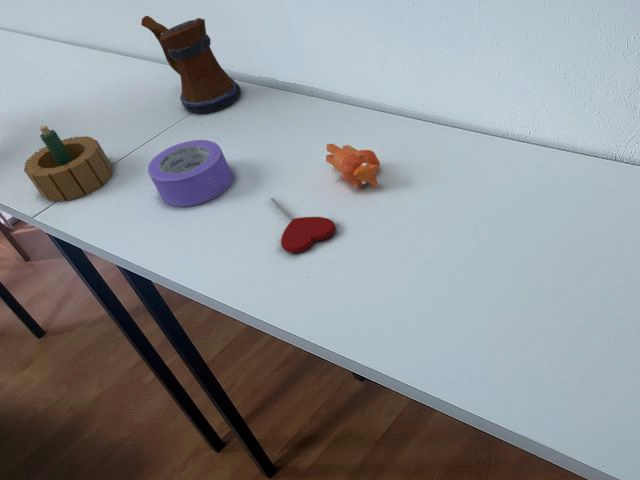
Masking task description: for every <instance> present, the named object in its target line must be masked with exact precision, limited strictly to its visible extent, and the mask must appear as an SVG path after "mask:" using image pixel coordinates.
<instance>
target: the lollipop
mask: <svg viewBox="0 0 640 480" xmlns="http://www.w3.org/2000/svg"><path fill="white" fill-rule="evenodd" d="M270 200H271V202H273V204H275V205H276V207H278V208H279V209H280V210H281V211H282V212H283V213H284V214H285V215H286V216H287V217H288V218H289V219H290V222H289V223H288V225H287V226H286V227H285V229H284V231H283V233H282V235H281V239H280V244H281V247H282V249H283V250H285V251H286V252H287V253H292V254H295V253H296V254H297V253H302V252H304V251H305V250H307V249H309V248H310V247H311V246H312V245H313V242H319V241H320V242H321V241H324V240H327V239H328V238H330V237H331V236H332V235H334V233H335V231H336V224H335V223H334V221H333V220H331V219H330V218H327V217H322V216H304V217H296V218H294V217H293V216H292V215H291V214H289V212H287V211H286V210H285V208H284V207H282V206H281V205H280V203H278V201H276V200H275V198H273V197H271V198H270Z"/></svg>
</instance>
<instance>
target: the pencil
mask: <svg viewBox="0 0 640 480" xmlns="http://www.w3.org/2000/svg"><path fill="white" fill-rule="evenodd" d="M38 129H39V130H40V132H41V133H40V135H39V138H40V139H41V140H42V142H43V143H44V145H45V147H46V146H47V148H48V149H49V151H50V152H51V154H52V155H53V157H54V158H55V160H56V161H57V163H58V164H59V165H60V166H62V165H66V164H68V163H70V162H71V161H73V160H74V159H73V158H72V156H71V155H70V153H69V152H68V150H67V149H66V147H65V146H64V144H63V143H62V141H61V140H62V139H61V138H60V137H59V135H58V134H57V132H56V130H54V129H50V128H49V127H48V125H46V124H44V125H41V126H39V128H38Z"/></svg>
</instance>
